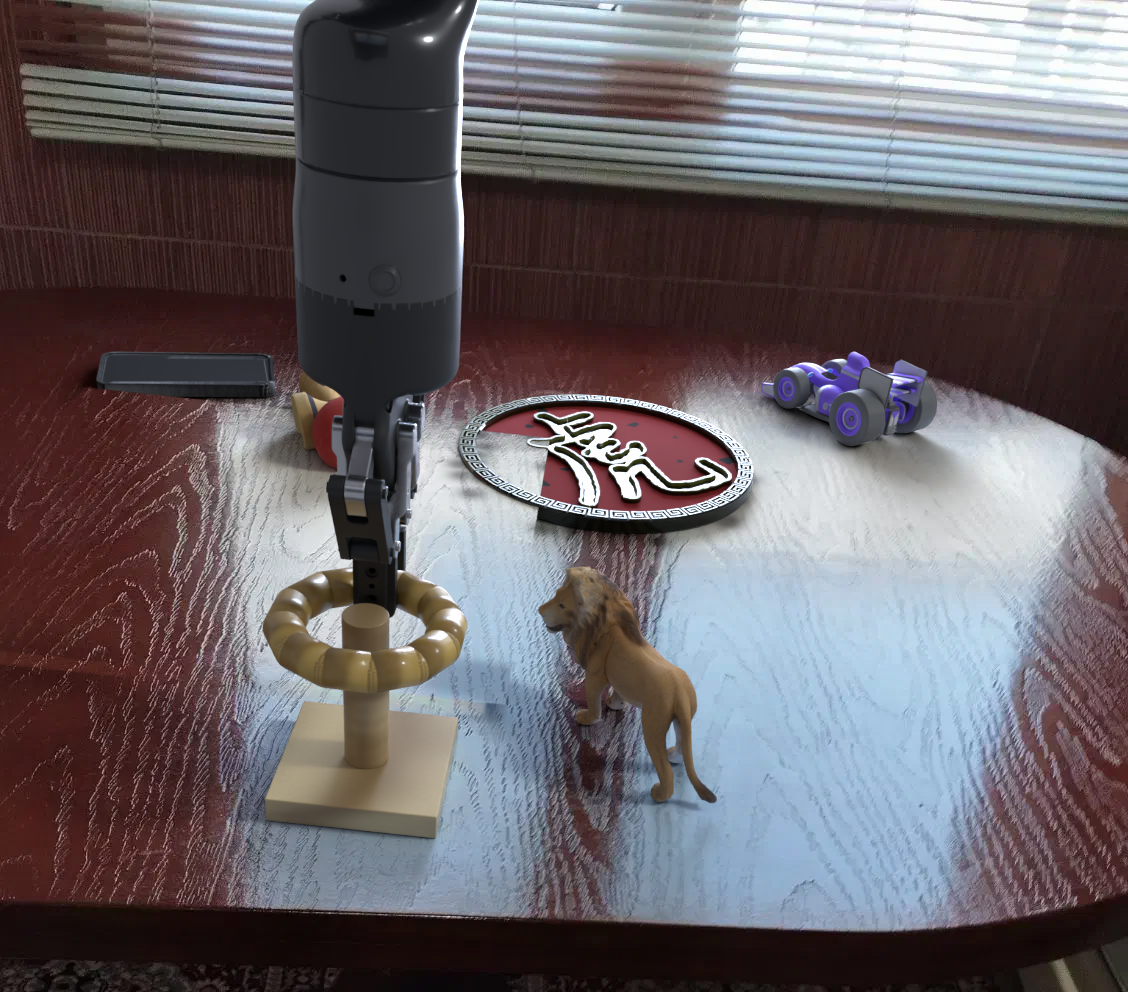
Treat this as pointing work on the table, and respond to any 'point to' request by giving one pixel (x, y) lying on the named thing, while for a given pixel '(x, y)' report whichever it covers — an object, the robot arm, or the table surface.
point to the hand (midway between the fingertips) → (379, 599)
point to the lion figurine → (626, 670)
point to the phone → (188, 374)
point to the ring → (355, 666)
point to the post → (364, 755)
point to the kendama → (316, 416)
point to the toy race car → (858, 397)
